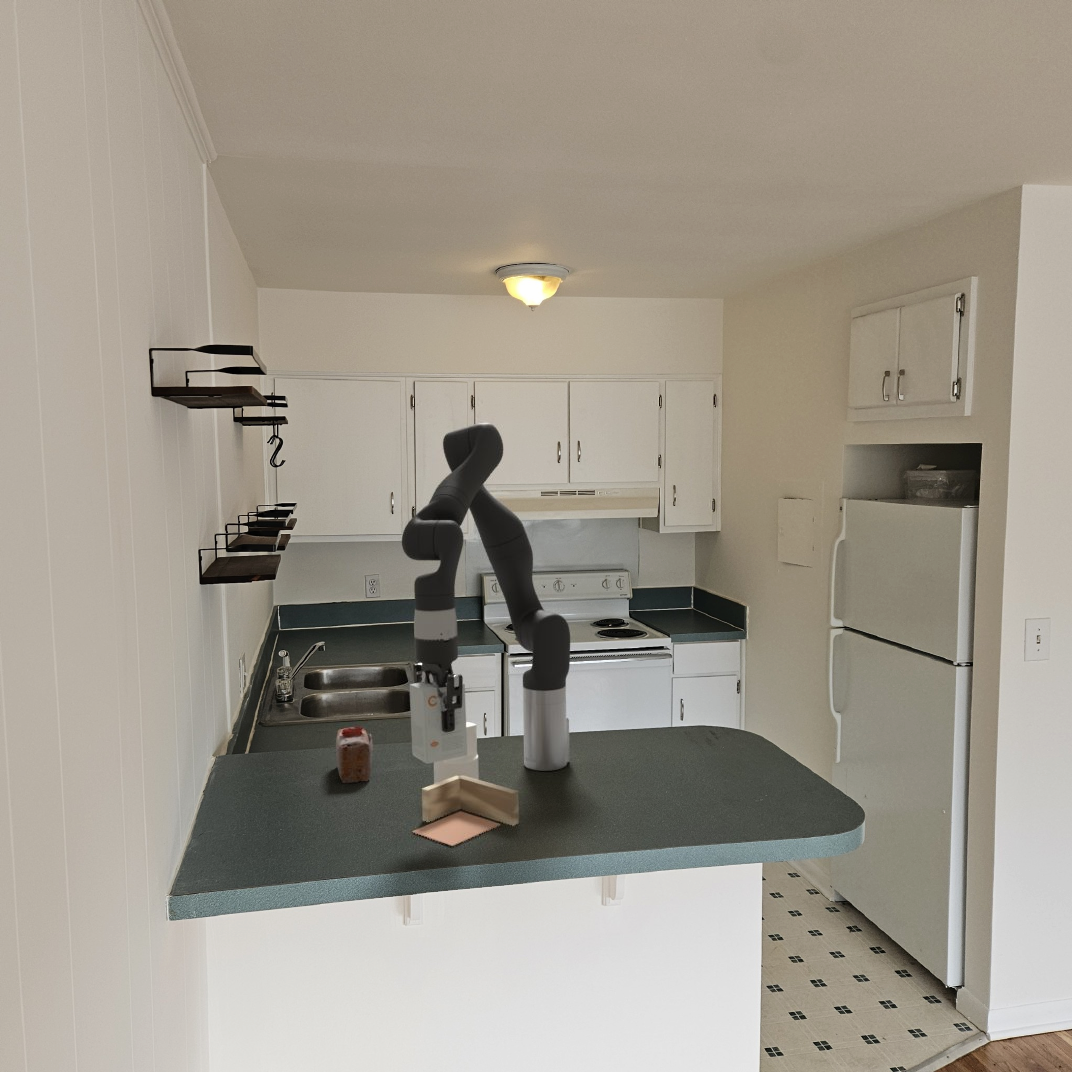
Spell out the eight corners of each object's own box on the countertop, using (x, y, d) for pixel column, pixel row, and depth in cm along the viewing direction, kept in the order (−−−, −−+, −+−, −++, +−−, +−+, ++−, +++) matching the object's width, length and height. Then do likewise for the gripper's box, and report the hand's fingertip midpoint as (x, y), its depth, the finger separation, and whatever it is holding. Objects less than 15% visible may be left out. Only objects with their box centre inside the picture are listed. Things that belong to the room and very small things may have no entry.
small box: (451, 747, 170) (449, 676, 169) (468, 756, 165) (465, 683, 164) (411, 755, 166) (408, 683, 165) (426, 764, 160) (423, 690, 159)
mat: (460, 812, 173) (460, 811, 173) (500, 825, 167) (500, 823, 167) (412, 832, 164) (412, 831, 164) (452, 847, 158) (452, 845, 158)
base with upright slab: (451, 797, 182) (450, 736, 181) (425, 785, 188) (423, 727, 187) (487, 786, 188) (486, 727, 187) (461, 775, 194) (459, 718, 193)
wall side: (457, 806, 177) (456, 775, 176) (463, 808, 176) (462, 777, 175) (422, 820, 170) (421, 788, 169) (428, 822, 169) (427, 790, 168)
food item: (334, 764, 203) (332, 720, 202) (371, 761, 205) (370, 717, 204) (338, 785, 190) (336, 738, 189) (377, 781, 192) (376, 734, 191)
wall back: (463, 806, 177) (462, 775, 176) (518, 823, 168) (518, 791, 167) (457, 808, 176) (456, 777, 175) (513, 826, 167) (512, 793, 166)
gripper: (398, 630, 167) (401, 721, 168) (437, 642, 155) (440, 740, 157) (434, 625, 171) (437, 714, 173) (475, 636, 160) (478, 732, 161)
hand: (438, 726), depth 165 cm, fingers closed on small box, 6 cm apart
